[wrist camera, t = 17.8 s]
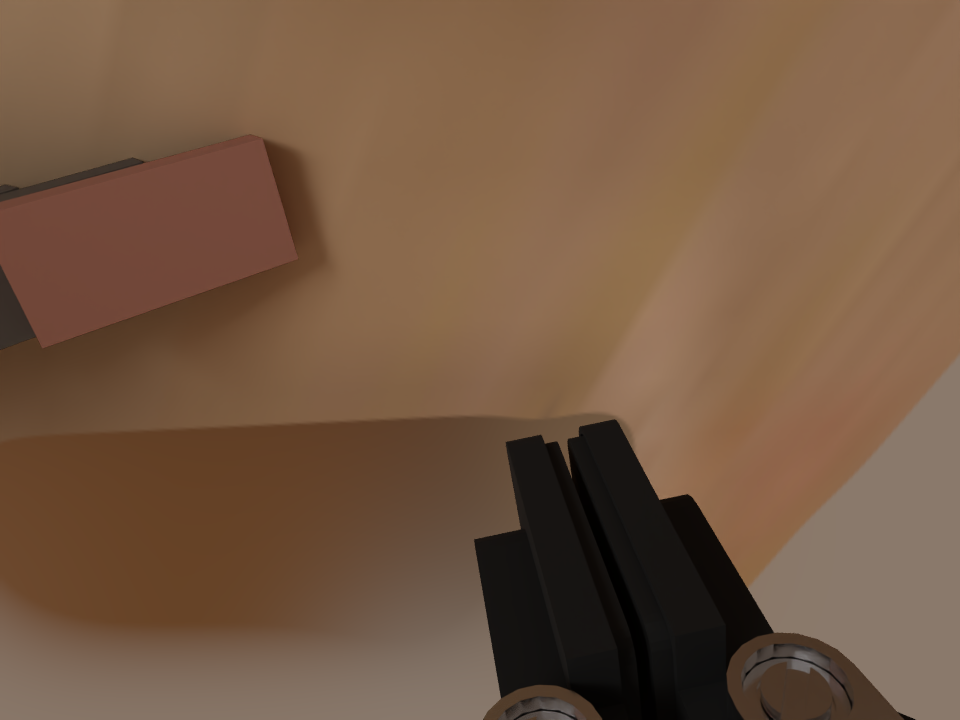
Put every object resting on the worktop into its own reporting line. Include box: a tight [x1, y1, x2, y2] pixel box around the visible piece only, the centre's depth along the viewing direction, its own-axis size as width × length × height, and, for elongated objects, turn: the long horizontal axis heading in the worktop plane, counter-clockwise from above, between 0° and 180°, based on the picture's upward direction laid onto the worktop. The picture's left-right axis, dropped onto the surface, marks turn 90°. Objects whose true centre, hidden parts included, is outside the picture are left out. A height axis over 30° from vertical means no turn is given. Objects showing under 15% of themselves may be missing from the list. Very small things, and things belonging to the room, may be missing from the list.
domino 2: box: [0, 135, 298, 348], centre depth 29 cm, size 2×5×10 cm
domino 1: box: [0, 158, 143, 350], centre depth 28 cm, size 2×5×10 cm
